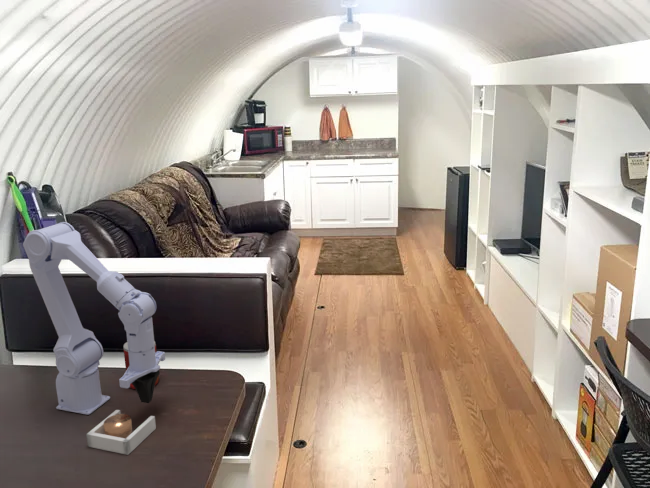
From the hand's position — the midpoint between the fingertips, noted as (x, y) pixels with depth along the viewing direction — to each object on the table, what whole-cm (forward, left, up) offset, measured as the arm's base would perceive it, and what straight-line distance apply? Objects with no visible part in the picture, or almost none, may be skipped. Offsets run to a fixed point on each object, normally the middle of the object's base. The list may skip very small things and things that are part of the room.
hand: (146, 401), depth 131 cm
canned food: (-10, +13, -4) cm, 16 cm away
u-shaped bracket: (0, -9, -3) cm, 10 cm away
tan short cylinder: (-1, -9, -4) cm, 10 cm away
